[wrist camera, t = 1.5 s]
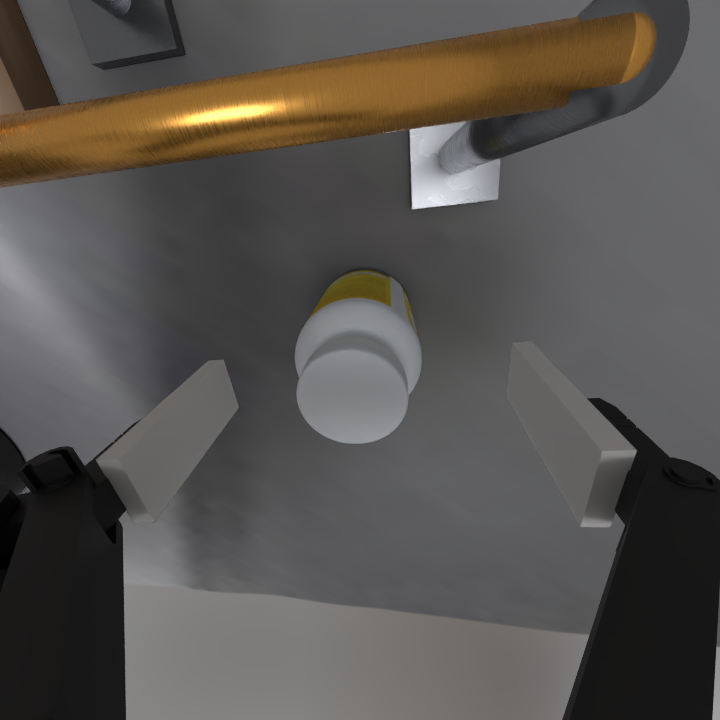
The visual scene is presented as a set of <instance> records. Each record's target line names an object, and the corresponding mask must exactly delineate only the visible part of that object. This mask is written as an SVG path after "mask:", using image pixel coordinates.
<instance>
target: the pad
mask: <svg viewBox="0 0 720 720" xmlns="http://www.w3.org/2000/svg"><path fill="white" fill-rule="evenodd" d="M57 105H59V103H58V101H57V98H56V96H55V93H54V91H53V88H52V86H51V84H50V81H49V79H48V76H47V74H46V72H45V69H44V67H43V64H42V62H41V60H40V57H39V55H38V52H37V50H36V47H35V45H34V43H33V40H32V38H31V35H30V33H29V31H28V28H27V26H26V23H25V21H24V18H23V16H22V14H21V11H20V9H19V6H18V4H17V2H16V0H0V115H4V114H10V113H16V112H22V111H28V110H34V109H39V108H45V107H51V106H57Z"/></svg>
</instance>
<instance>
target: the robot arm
mask: <svg viewBox="0 0 720 720" xmlns="http://www.w3.org/2000/svg"><path fill="white" fill-rule="evenodd" d="M506 397H507V399H508V401H509V403H510V404H511V406H512V408H513V410H514V411H515V413H516V415H517V417H518V418H519V420H520V422H521V424H522V425H523V427H524V429H525V431H526V432H527V434H528V436H529V438H530V439H531V441H532V443H533V445H534V446H535V448H536V450H537V452H538V453H539V455H540V457H541V459H542V460H543V462H544V464H545V466H546V467H547V469H548V471H549V473H550V474H551V476H552V478H553V480H554V481H555V483H556V485H557V487H558V488H559V490H560V492H561V494H562V495H563V497H564V499H565V501H566V502H567V504H568V506H569V508H570V509H571V511H572V513H573V515H574V516H575V518H576V520H577V521H578V523H579V525H580V527H611V524H612V521H613V518H614V515H615V512H616V513H617V514H618V516H619V517H620V519H621V520H622V521H623V523H624V524H625V528H624V530H623V533H622V536H621V538H620V541H619V544H618V546H617V549H616V555H615V558H614V561H613V564H612V567H611V570H610V573H609V577H608V580H607V583H606V586H605V589H604V592H603V595H602V598H601V601H600V604H599V608H598V611H597V614H596V617H595V620H594V623H593V626H592V629H591V632H590V636H589V639H588V642H587V645H586V648H585V651H584V654H583V657H582V660H581V663H580V667H579V670H578V673H577V676H576V679H575V682H574V686H573V689H572V692H571V695H570V698H569V701H568V704H567V707H566V710H565V714H564V716H563V719H562V720H712V713H713V696H714V678H715V659H716V643H717V625H718V607H719V589H720V480H719V479H718V478H717V477H716V476H715V475H713V474H712V473H710V472H709V471H707V470H706V469H704V468H702V467H700V466H698V465H696V464H693V463H691V462H688V461H685V460H681V459H677V458H670V457H669V456H668V455H667V454H666V453H665V452H664V451H663V450H661V449H660V448H659V447H658V446H657V445H656V444H655V443H654V442H653V441H652V440H651V439H650V438H649V437H648V436H646V435H645V434H644V433H643V432H642V431H641V430H640V429H639V428H636V425H635V424H634V423H633V422H632V421H630V420H629V419H627V417H626V416H625V415H624V414H623V413H622V412H621V411H620V410H619V409H618V408H617V407H615V406H613V405H612V404H610V403H608V402H606V401H604V400H602V399H600V398H588V399H587V398H586V397H585V396H584V395H583V394H582V393H581V392H580V391H579V390H578V389H577V388H576V387H575V386H574V385H573V384H572V383H571V382H570V381H569V380H568V379H567V378H566V377H565V376H564V375H563V374H562V373H561V371H560V370H559V369H558V368H557V367H556V366H555V365H554V364H553V363H552V362H551V361H550V360H549V359H548V358H547V357H546V356H545V355H544V354H543V353H542V352H541V351H540V350H539V349H538V348H537V347H536V346H535V345H534V344H533V343H532V342H531V341H529V342H512V349H511V359H510V368H509V377H508V386H507V396H506ZM238 408H239V406H238V403H237V400H236V397H235V393H234V390H233V387H232V384H231V381H230V378H229V375H228V372H227V369H226V366H225V363H224V360H209V361H207V362H206V363H205V364H204V365H203V366H202V367H201V368H199V369H198V370H197V371H196V372H195V373H194V374H193V375H192V376H190V377H189V378H188V379H187V380H186V381H185V382H184V383H182V384H181V385H180V386H179V387H178V388H177V389H176V390H175V391H173V392H172V393H171V394H170V395H169V396H168V397H167V398H165V399H164V400H163V401H162V402H161V403H160V404H159V405H157V406H156V407H155V408H154V409H153V410H152V411H151V412H150V413H148V414H147V415H146V416H145V417H144V418H143V419H141V420H139V421H138V422H136V423H134V424H133V425H132V426H131V427H129V428H128V429H127V430H126V431H125V432H124V433H123V435H120V436H119V437H118V438H117V439H116V440H115V442H112V443H111V444H110V445H109V446H108V447H106V448H105V449H104V450H103V451H102V452H101V453H100V454H98V455H97V456H96V457H95V458H94V459H93V460H91V461H90V462H89V463H88V464H87V465H86V466H84V465H83V463H82V462H81V460H80V458H79V457H78V455H77V454H76V452H75V451H74V449H73V448H72V447H68V446H66V447H59V448H55V449H52V450H49V451H46V452H44V453H42V454H40V455H38V456H36V457H34V458H33V459H31V460H29V461H28V462H26V463H25V464H24V463H23V460H22V458H21V456H20V455H19V453H18V451H17V450H16V448H15V447H14V446H13V444H12V443H11V442H10V441H9V440H8V439H7V437H6V436H5V435H4V434H3V433H2V432H1V431H0V720H126V703H125V702H126V700H125V698H126V697H125V647H124V645H125V639H124V586H123V585H124V581H123V527H122V525H121V523H120V521H119V520H118V519H119V518H120V517H121V515H122V514H123V513H124V512H125V511H127V512H128V514H129V516H130V517H131V519H132V521H133V522H134V523H155V521H156V520H157V519H158V517H159V516H160V515H161V513H162V512H163V510H164V509H165V508H166V506H167V505H168V504H169V502H170V501H171V500H172V498H173V497H174V495H175V494H176V493H177V491H178V490H179V489H180V487H181V486H182V485H183V483H184V482H185V480H186V479H187V478H188V476H189V475H190V474H191V472H192V471H193V470H194V468H195V467H196V465H197V464H198V463H199V461H200V460H201V459H202V457H203V456H204V455H205V453H206V452H207V450H208V449H209V448H210V446H211V445H212V444H213V442H214V441H215V440H216V438H217V437H218V436H219V434H220V433H221V431H222V430H223V429H224V427H225V426H226V425H227V423H228V422H229V421H230V419H231V418H232V416H233V415H234V414H235V412H236V411H237V410H238ZM25 485H26V486H27V487H28V489H29V490H30V491H31V492H29V493H25V494H21V495H18V494H20V493H21V492H22V490H23V489H24V487H25Z"/></svg>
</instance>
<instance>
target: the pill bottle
mask: <svg viewBox="0 0 720 720" xmlns="http://www.w3.org/2000/svg"><path fill="white" fill-rule="evenodd" d="M295 365H296V370H297V374H298V376H299V380H298V384H297V393H296V395H297V403H298V406H299V409H300V411H301V413H302V415H303V417H304V419H305V420H306V421H307V422H308V424H309V425H310V426H311V427H312V428H313V429H315V430H316V431H317V432H319V433H320V434H322V435H323V436H325V437H327V438H329V439H332V440H335V441H338V442H342V443H349V444H362V443H369V442H373V441H376V440H379V439H381V438H383V437H385V436H387V435H388V434H390V433H391V432H392V431H393V430H395V429H396V428H397V427H398V425H399V424H400V423H401V421H402V420H403V418H404V416H405V414H406V411H407V407H408V401H409V400H408V396H409V394H410V393H411V392H412V390H413V389H414V387H415V385H416V383H417V381H418V378H419V375H420V371H421V365H422V354H421V347H420V342H419V338H418V334H417V330H416V326H415V323H414V319H413V314H412V310H411V306H410V302H409V299H408V297H407V295H406V293H405V291H404V289H403V288H402V287H401V285H400V284H399V283H398V282H397V281H396V280H395V279H393V278H392V277H391V276H389V275H387V274H385V273H383V272H381V271H377V270H373V269H357V270H353V271H350V272H347V273H345V274H343V275H341V276H340V277H338V278H337V279H336V280H334V281H333V282H332V283H331V285H330V286H329V287H328V288H327V290H326V291H325V293H324V295H323V296H322V298H321V299H320V301H319V303H318V304H317V306H316V307H315V309H314V311H313V312H312V314H311V315H310V317H309V319H308V320H307V322H306V323H305V325H304V327H303V329H302V330H301V332H300V335H299V337H298V340H297V343H296V348H295Z"/></svg>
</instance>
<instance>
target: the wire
mask: <svg viewBox="0 0 720 720" xmlns="http://www.w3.org/2000/svg"><path fill="white" fill-rule="evenodd" d="M69 3H70V6H71V8H72V11H73V14H74V17H75V19H76V22H77V25H78V28H79V30H80V33H81V36H82V39H83V42H84V44H85V47H86V50H87V53H88V55H89V58H90V61H91V64H92V65H94V66H97V67H99V68H101V69H109V68H114V67H120V66H125V65H131V64H136V63H142V62H147V61H153V60H158V59H164V58H169V57H175V56H180V55H185V52H184V48H183V44H182V40H181V37H180V33H179V29H178V25H177V21H176V18H175V14H174V10H173V6H172V2H171V0H69ZM689 22H690V15H689V6H688V1H687V0H593V1H592V2H591V3H590V4H589V5H588V6H587V7H586V8H585V9H584V10H583V11H582V12H581V13H580V14H579V15H578V16H577V17H573V18H567V19H561V20H555V21H549V22H543V23H538V24H532V25H526V26H520V27H514V28H508V29H502V30H497V31H491V32H485V33H479V34H473V35H467V36H461V37H456V38H450V39H444V40H438V41H432V42H426V43H420V44H415V45H409V46H403V47H397V48H391V49H385V50H379V51H374V52H368V53H362V54H356V55H350V56H344V57H338V58H332V59H327V60H321V61H315V62H309V63H303V64H297V65H291V66H286V67H280V68H274V69H268V70H262V71H256V72H250V73H245V74H239V75H233V76H227V77H221V78H215V79H209V80H204V81H198V82H192V83H186V84H180V85H174V86H168V87H163V88H157V89H151V90H145V91H139V92H133V93H127V94H121V95H116V96H110V97H104V98H98V99H92V100H86V101H80V102H75V103H69V104H63V105H57V106H51V107H45V108H39V109H34V110H28V111H22V112H16V113H10V114H4V115H0V188H1V187H8V186H15V185H22V184H29V183H36V182H43V181H50V180H57V179H64V178H71V177H78V176H85V175H92V174H99V173H107V172H114V171H121V170H128V169H135V168H142V167H149V166H156V165H163V164H170V163H177V162H184V161H191V160H198V159H205V158H212V157H219V156H227V155H234V154H241V153H248V152H255V151H262V150H269V149H276V148H283V147H290V146H297V145H304V144H311V143H318V142H325V141H332V140H339V139H347V138H354V137H361V136H368V135H375V134H382V133H389V132H396V131H403V130H409V154H410V184H411V209H419V208H428V207H437V206H445V205H454V204H463V203H472V202H480V201H489V200H498V188H499V174H500V160H501V158H502V157H505V156H508V155H510V154H513V153H516V152H519V151H522V150H525V149H527V148H530V147H533V146H536V145H539V144H541V143H544V142H547V141H550V140H553V139H555V138H558V137H561V136H564V135H567V134H569V133H572V132H575V131H578V130H581V129H584V128H586V127H589V126H592V125H595V124H598V123H600V122H603V121H606V120H609V119H612V118H614V117H617V116H620V115H623V114H626V113H628V112H630V111H632V110H634V109H636V108H638V107H639V106H641V105H643V104H644V103H645V102H647V101H648V100H649V99H650V98H651V97H653V96H654V95H655V94H656V93H657V92H658V91H659V90H660V88H661V87H662V86H663V85H664V84H665V83H666V81H667V80H668V79H669V77H670V76H671V74H672V73H673V71H674V69H675V68H676V66H677V64H678V62H679V60H680V58H681V55H682V53H683V50H684V47H685V44H686V41H687V36H688V31H689Z"/></svg>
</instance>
